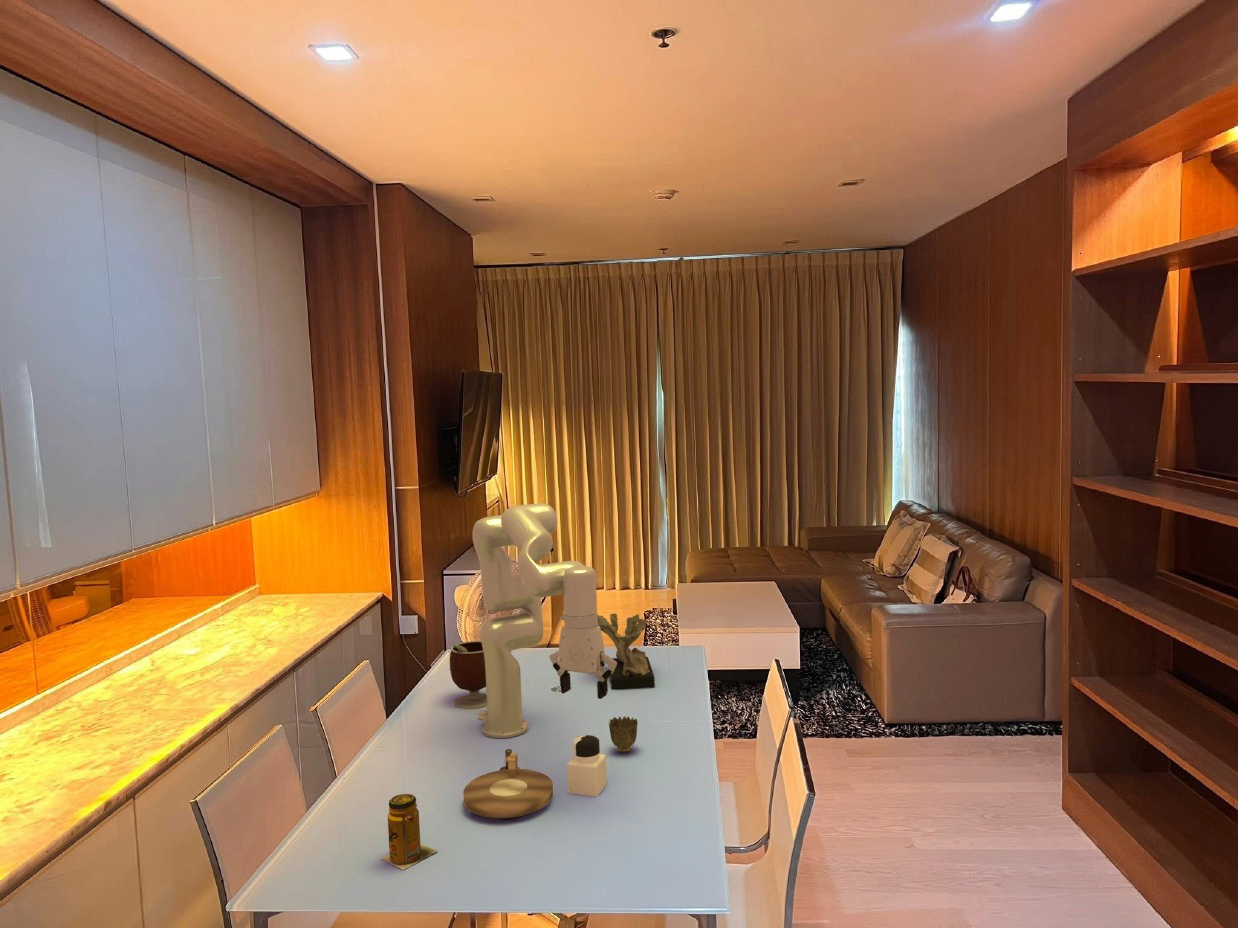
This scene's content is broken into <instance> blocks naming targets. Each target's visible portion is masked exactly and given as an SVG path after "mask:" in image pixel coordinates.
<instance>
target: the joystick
mask: <svg viewBox="0 0 1238 928" xmlns="http://www.w3.org/2000/svg"><path fill="white" fill-rule="evenodd" d="M504 753H505V755H504V757H505V765H504V766H502V767H500V768H499V769H498V771H499V770H506V769H508V759H509V756H510V754H511V753H513V749H511V748H507V749H505V751H504ZM518 769H521V768H520V767H519V766H518Z"/></svg>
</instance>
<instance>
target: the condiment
mask: <svg viewBox="0 0 1238 928" xmlns="http://www.w3.org/2000/svg"><path fill="white" fill-rule="evenodd" d="M417 806H418V805H417V798H416V796H415V795H413V794H412V793H401V794H397V795H395V796H392V797H391V798H390V799H389V801H388V814H387V830H388V831H387V832H388V848H389V849H388V851H389V854H387V855H385V856H383V857H381V860H383V861H384V862H386V863H389V865H392V866H394V867H396V868H398V869H401V870H402V871H404V870H406V869H408V868H410V867H412V866H413V865H416V864H417V863H419V862H421V861H423V860H424V859H425V858H428V857H430V856H432V855H433V854H434V853H437V852H438V850H437V849H434V848H432V847H429V846H427V845H425V844H424V843H421V829H420V828H421V827H420V811H419V809H418V808H417Z"/></svg>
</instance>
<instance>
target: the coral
mask: <svg viewBox="0 0 1238 928" xmlns="http://www.w3.org/2000/svg"><path fill="white" fill-rule="evenodd" d="M609 617H610V618H609V620H610V622H609V621H608V619H607V618H606V617H604V616H603V615H599V614H597V621H598V626H600V629H601V632H603V633H604V634H605V635H607V636H608V637H609V638H610V640H611V641H612V642H613V644H614V646H615V648H616V652H615V657H613V658H612V657H611V658H612V659H613V660H615V661H616V662H617V665H616V668H615V670H614V673H613V674H612V675H611V676H610V677H609V681H610V689H611V691H612V690H613V691H617V690H631V689H632V690H634V689H635V690H636V689H638V690H639V689H652V688H655V685H656V684H655V681H656V680H655V673H654V671H653V669H652V665H651V661H650V659H649V657H648V656H647V655H646V651H642V650H639V649H638V648H637V647H634V648H632V649H631V648H630V646H631V645H632V644H633V643H634V642H635V641H637V639H639V638H640V636H641V633H642V632H644V630H645V628H646V624H647V620H646V619H644V618H640V614H635V615H632V616H631V617H630V616H629V617H627V618H626V624H625V625H626V627H625V630H624V634H625V635H622V636H621V634H619V633H618V630H619V623H618V620H619V619H618V614H617V613H610V614H609Z"/></svg>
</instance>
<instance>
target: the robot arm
mask: <svg viewBox="0 0 1238 928" xmlns="http://www.w3.org/2000/svg"><path fill="white" fill-rule="evenodd" d="M557 526H558V516H557V513H556V512H555V509H554V507H552V506H551V505H550V504H548V503H545V502H541V503H540V502H538V503H530V504H520V505H518V504H517V505H514V506H513V505H512V506H510V507H509V508H507V509H505V510H504V512H503V513H502V514H498V515H492V516H486V517H483V518H481V519H479V520H477V521H476V522H475V523H474V525H473V528H472V543H473V545H474V547H473V548H474V549H475V553H476V554H477V557H478V562H479V566H480V578H481V589H482V590H481V591H482V601H483V604H484V608H485V609H486V610H487V611H488V612H490V613H501V612H507V611H514V610H518V609H519V610H521V612H519V613H513V614H507V615H501V616H496V617H492V618H490V619H487V620H485V621H484V623H482V625H481V626H480V630H479V637H480V641H481V642H482V647H483V652H484V659H485V672H486V687H485V689H486V690H485V691H486V694H487V707H486V708H487V709H486V710H485V709H480V710H479V712H478V715H477V720H479V721H484V724H483V726H482V728H481V729H482V733H483V735H484V736H487V737H490V738H493V739H508V738H513V737H517V736H521V735H523V734H524V733H526V732H528V729H529V722H528V721H527V720H525V719H523V702H522V701H523V699H522V697H523V696H522V681H521V679H522V678H521V677H522V675H521V665H520V663H519V661H518V660H517V658H516V657H514V655H513V654H512V651H517V649H518V650H519V649H520V650H521V649H525V648H529V647H534V646H537V645H538V644H540V642H542V639H543V636H544V622H543V607H542V598H547V597H554V596H558V595H563V610H564V613H561V614H560V617H559V619H560V620H562V621H564V622H563V624H564V625H562V626H561V628H560V629H561V630H560V634H559V636H560V637H559V645H558V651H555V652H554V653H552V654H550V655H549V659H550V661H551V663H552V667H553V669H554V670H555V671H556V672H557V676H559V685H560V686H559V688H560V693H561V694H565V693H567V692H569V691H571V689H572V687H571V686H572V685H571V673H570V672H574V673H581V674H587V675H588V674H589V675H591V674H594V675H595V676H596V678H597V679H598V681H596V689H597V690H596V691H597V693H596V694H597V699H599V700H601V699H603V698H604V697H606V696H607V694H608V693H609V689H608V688H609V686H608V679H610V676H611V675H612V674H613V673H614V670H615V668H616V665H617V662H616V661H615V660H613V659H612V657H611V656H609V655H608V654H606V652H605V645H604V637H603V633H602V631H601V629H600V626H598V621H597V615H598V600H597V599H598V594H597V575H596V574H597V572H596V571H595V569H594V568H593V566H592V567H591V566H588V565H584V564H583V563H581V562H580V561H577V560H567V561H560V562H551V563H544V564H537V563H538V562H540V561H541V560H542V559H544V558H545V557H547V555H548V554H550V552H551V551H552V548H553V542H554V541H553V536H552V534H553V533H554V532H555V531H556V530H557ZM511 546H515V547H516V549H518V550H519V554H518V556H517V562H516V564H517V571H518V573H516V574H513V568H512V567H513V566H512V565H513V564H512V559H511V556H510V555H509V553H508V552H507V551H506V549H504V548H503V547H511ZM605 665H607V666H608V667H607V670H606V668H605Z"/></svg>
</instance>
